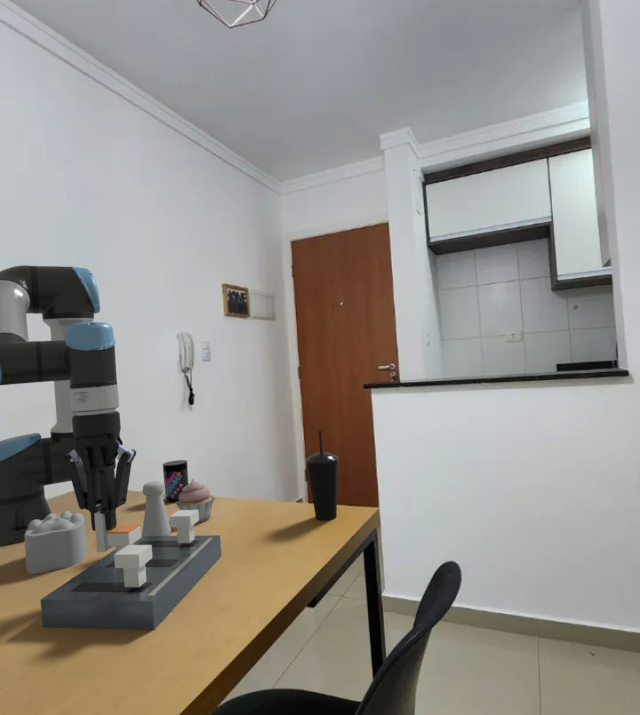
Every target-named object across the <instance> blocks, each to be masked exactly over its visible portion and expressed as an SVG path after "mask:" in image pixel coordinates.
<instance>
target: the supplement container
mask: <svg viewBox="0 0 640 715" xmlns="http://www.w3.org/2000/svg"><path fill="white" fill-rule="evenodd" d="M162 472H163V484H164V499H165V500H166V502H168V503H175V502H178V501H179V494H180V493H181V492H182V489H183V488H184V487H185V486H187V485H188V484H190V482H189V472H188V460H186V459H178V460H170V461H166V462H164V463H163V464H162Z"/></svg>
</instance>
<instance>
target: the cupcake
mask: <svg viewBox="0 0 640 715" xmlns="http://www.w3.org/2000/svg"><path fill="white" fill-rule="evenodd" d="M215 499H216V497H214V495H212V494H211V490H210V488H209V487H208V486H207V485H206V484H204V483H201V482H200V481H199V480H198V479H195V478H192V479H191V482H189V484H188V485H187V486H185V487H184V488H183V489H182V492H181V493H180V494H179V501H178V502H174V503H175V505H176V507H178V510H198V512H199V521H198V522H196V523H195V524H200V522H201V523H203V522H206V521H208V520H209V519H211V518H210V517H211V515H212V514H211V513H212V509H213V505H214V502H215Z"/></svg>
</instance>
